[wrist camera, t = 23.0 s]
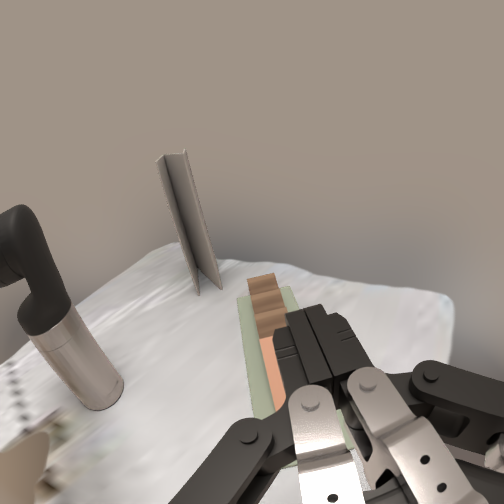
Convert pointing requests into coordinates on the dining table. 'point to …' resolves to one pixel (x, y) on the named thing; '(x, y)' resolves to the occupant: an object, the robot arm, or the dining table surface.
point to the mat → (256, 365)
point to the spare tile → (273, 372)
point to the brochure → (188, 216)
